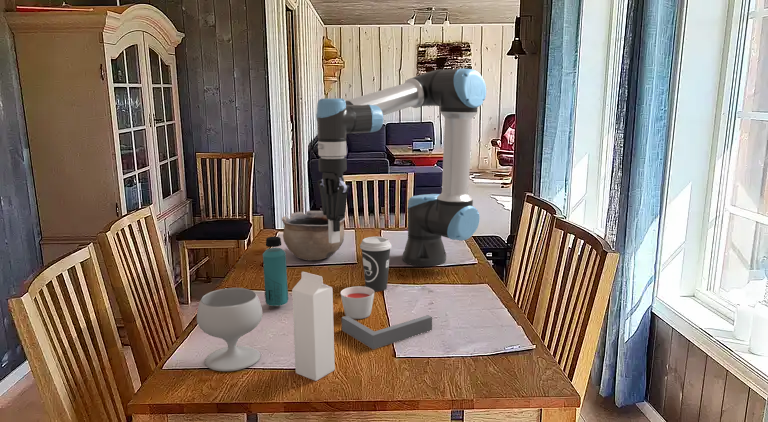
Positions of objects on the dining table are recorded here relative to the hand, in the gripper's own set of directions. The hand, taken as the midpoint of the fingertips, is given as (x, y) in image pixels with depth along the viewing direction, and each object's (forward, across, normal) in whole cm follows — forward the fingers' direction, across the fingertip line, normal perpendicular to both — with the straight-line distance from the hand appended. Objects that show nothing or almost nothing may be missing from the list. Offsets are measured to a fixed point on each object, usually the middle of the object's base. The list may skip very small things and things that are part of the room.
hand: (334, 242), depth 160 cm
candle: (+18, +11, 0) cm, 21 cm away
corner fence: (+18, +24, 0) cm, 30 cm away
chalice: (+18, +16, -37) cm, 44 cm away
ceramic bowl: (+18, -42, +17) cm, 49 cm away
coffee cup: (+18, -3, +16) cm, 24 cm away
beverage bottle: (+18, -7, -15) cm, 24 cm away
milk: (+18, +32, -25) cm, 44 cm away
